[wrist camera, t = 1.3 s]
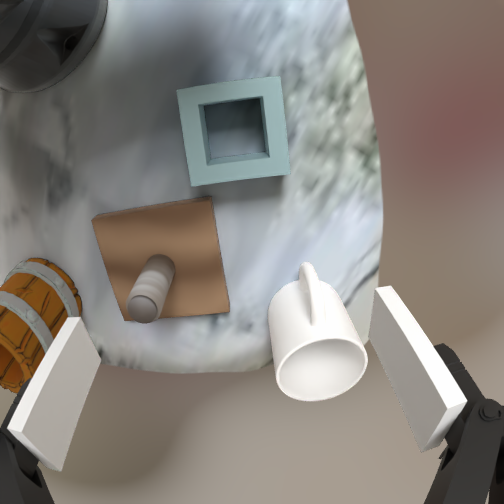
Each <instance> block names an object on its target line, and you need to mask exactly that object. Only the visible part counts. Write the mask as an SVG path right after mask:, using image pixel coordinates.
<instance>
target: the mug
mask: <svg viewBox="0 0 504 504" xmlns="http://www.w3.org/2000/svg"><path fill="white" fill-rule="evenodd" d="M77 292H78V291H77V289H76V288H75V286H74V282H73V281H72V280H71V279H70V277H69V276H68V275H67V274H66V273H65V272H64V271H63V270H61V269H60V268H59V267H57V266H56V265H55V264H53V263H49V261H48V260H44V259H41V258H31V259H28V260H27V261H22V262H20V263H19V264H18V265H17V266H16V267H15V268H14V269H13V270H12V271H11V272H10V273H9V274H8V275H7V277H6V279H5V281H4V284H3V285H2V286H1V287H0V385H1V386H2V387H3V388H4V389H9V390H10V391H11V392H14V393H18V392H19V390H20V388H21V386H22V385H23V384H24V383H25V382H26V381H27V380H28V379H29V378H33V376H34V374H35V372H36V370H37V369H38V367H39V365H40V363H41V361H42V360H43V358H44V356H45V354H46V353H47V351H48V349H49V348H50V346H51V344H52V343H53V341H54V339H55V338H56V336H57V334H58V333H59V331H60V329H61V328H62V326H63V325H64V323H65V321H66V320H67V318H68V317H80V315H81V311H82V302H81V299H80V296H79V295H78V294H76V293H77Z"/></svg>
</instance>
